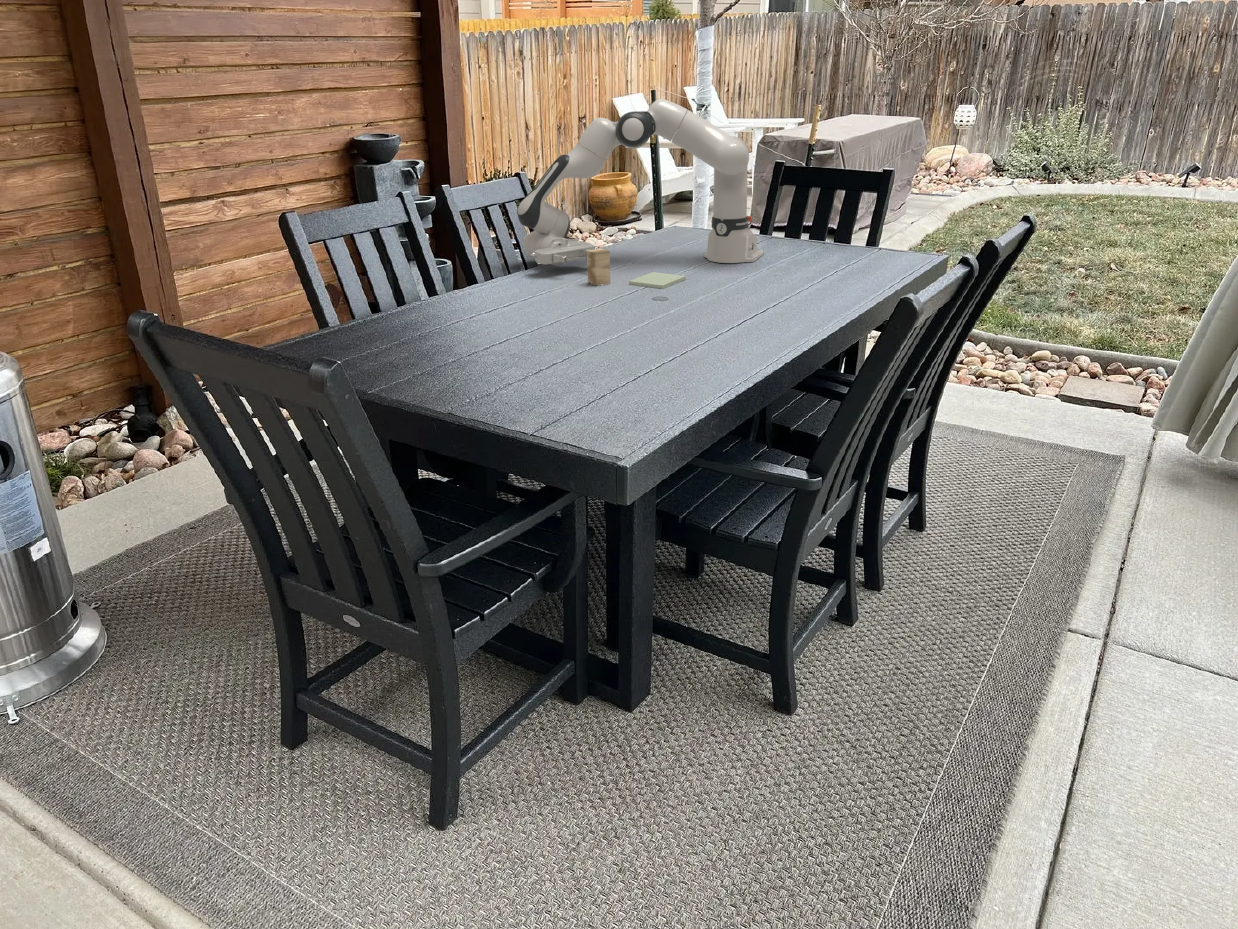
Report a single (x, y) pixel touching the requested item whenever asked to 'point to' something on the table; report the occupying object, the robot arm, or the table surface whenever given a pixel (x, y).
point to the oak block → (598, 266)
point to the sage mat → (657, 280)
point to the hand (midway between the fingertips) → (577, 257)
